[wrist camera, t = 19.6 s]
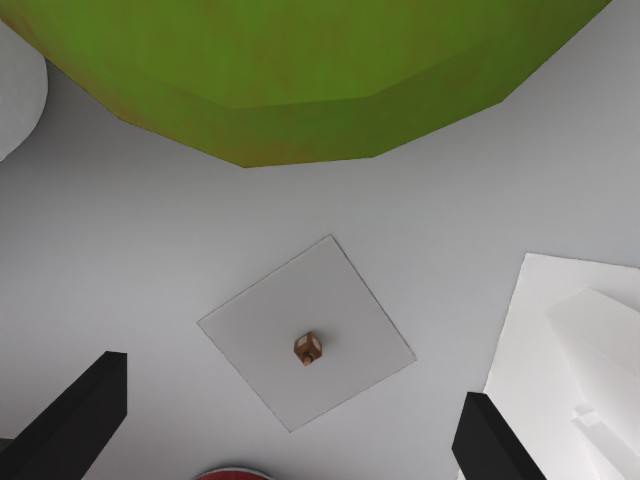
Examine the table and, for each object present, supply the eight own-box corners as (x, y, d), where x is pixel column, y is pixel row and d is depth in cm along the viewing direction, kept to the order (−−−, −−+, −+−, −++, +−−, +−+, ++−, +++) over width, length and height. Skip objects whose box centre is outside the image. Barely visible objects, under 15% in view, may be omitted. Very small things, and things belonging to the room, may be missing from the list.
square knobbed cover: (417, 359, 18) (428, 384, 16) (290, 432, 19) (286, 463, 17) (330, 234, 16) (331, 245, 14) (195, 322, 17) (181, 343, 15)
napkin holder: (521, 252, 16) (627, 305, 11) (751, 280, 16) (969, 346, 11) (450, 498, 20) (501, 633, 14) (639, 517, 20) (759, 655, 15)
